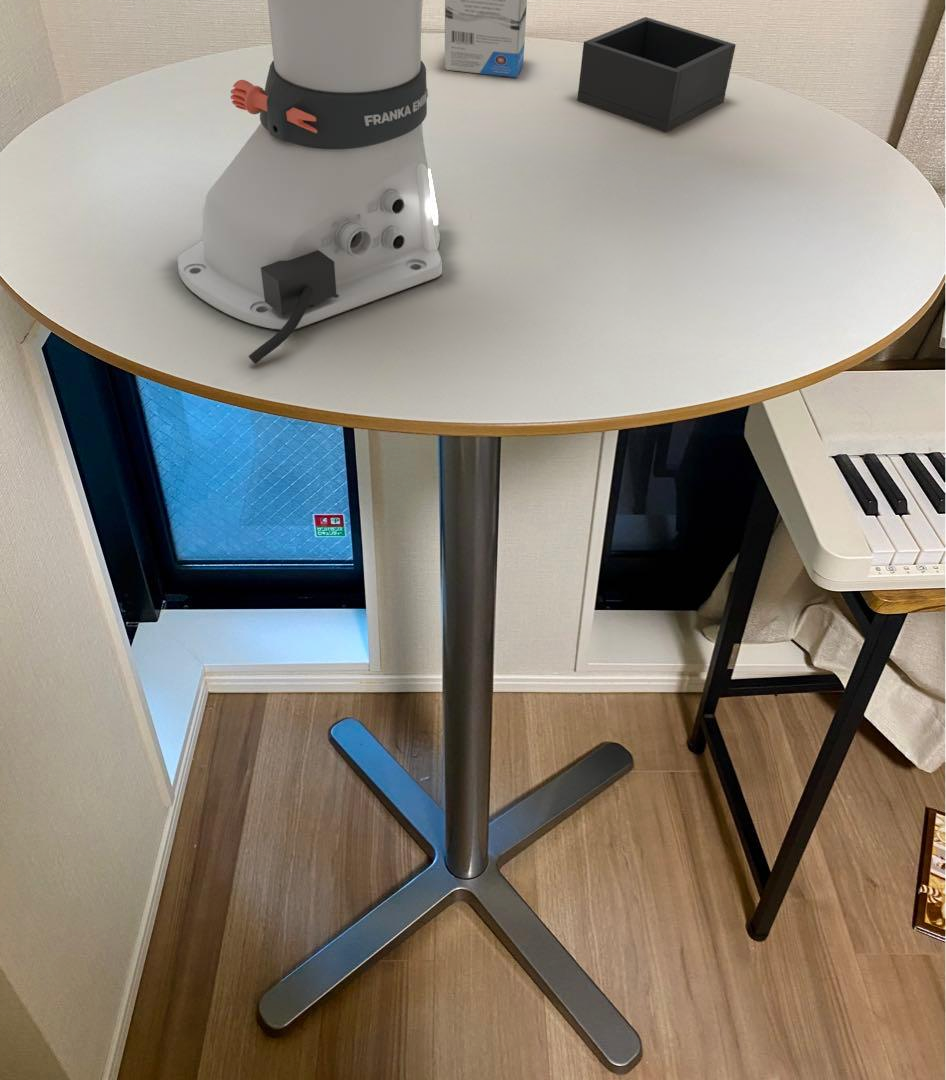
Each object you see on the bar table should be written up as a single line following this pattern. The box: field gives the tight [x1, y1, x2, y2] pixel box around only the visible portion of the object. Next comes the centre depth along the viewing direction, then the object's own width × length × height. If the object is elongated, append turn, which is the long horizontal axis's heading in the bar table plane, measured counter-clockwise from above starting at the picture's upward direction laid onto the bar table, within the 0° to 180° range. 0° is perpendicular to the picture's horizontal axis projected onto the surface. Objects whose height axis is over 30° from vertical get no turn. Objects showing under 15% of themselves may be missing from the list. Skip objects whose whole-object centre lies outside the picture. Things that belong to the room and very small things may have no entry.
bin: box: [576, 16, 736, 133], centre depth 107 cm, size 12×12×6 cm
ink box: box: [444, 0, 528, 78], centre depth 110 cm, size 9×5×12 cm, turn 77°
